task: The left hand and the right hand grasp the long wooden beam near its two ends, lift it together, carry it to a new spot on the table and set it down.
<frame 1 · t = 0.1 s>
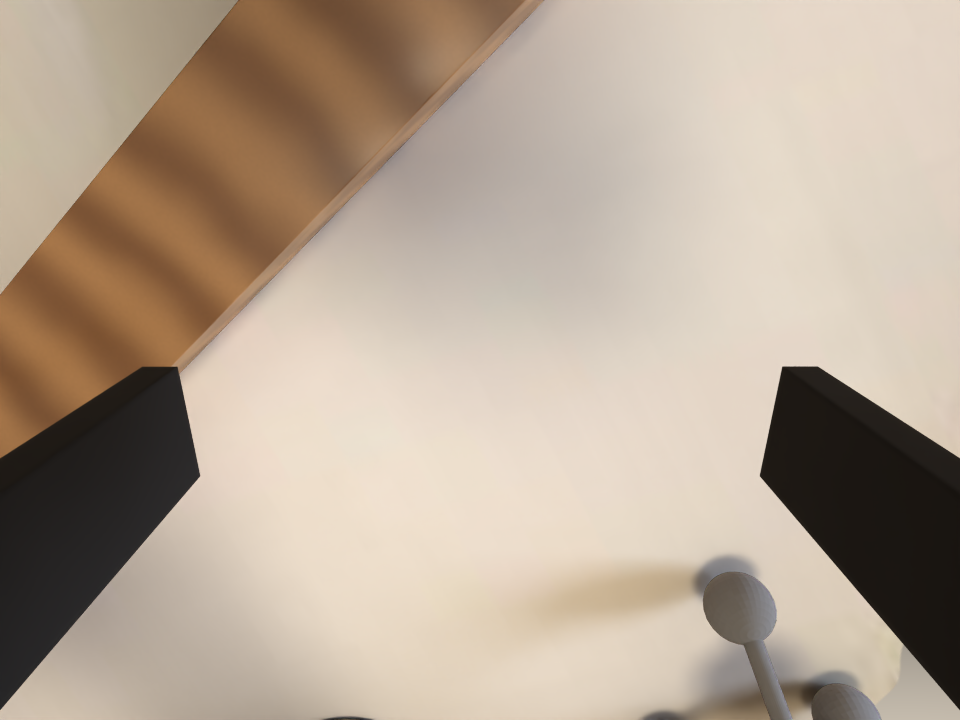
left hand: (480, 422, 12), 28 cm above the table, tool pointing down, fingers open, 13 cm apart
molecular model: (719, 678, 53), on the table
long wooden beam: (256, 185, 37), on the table
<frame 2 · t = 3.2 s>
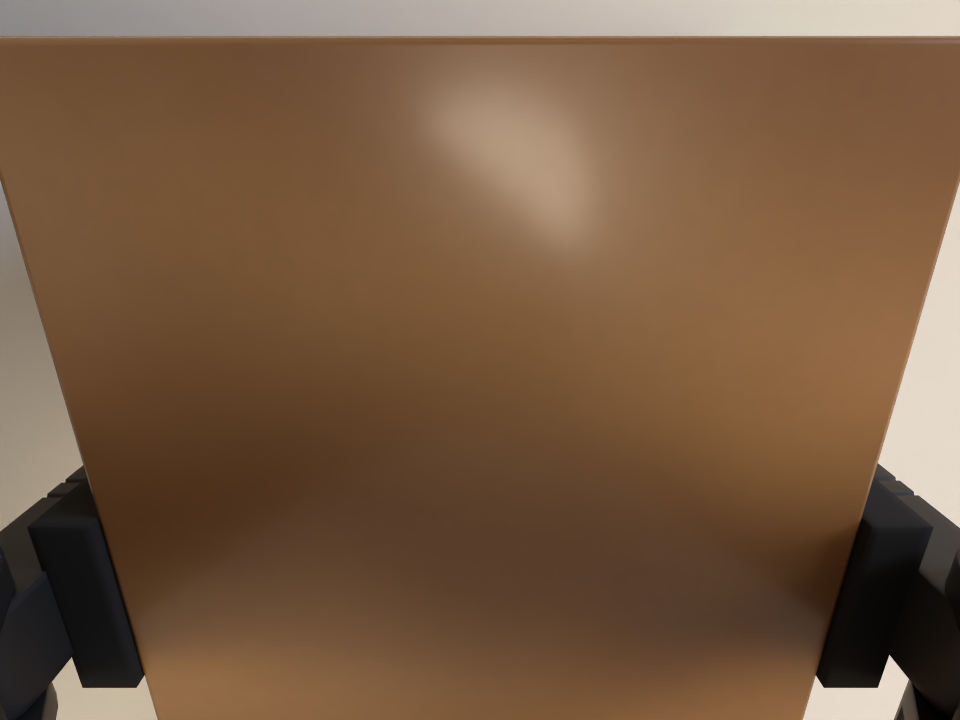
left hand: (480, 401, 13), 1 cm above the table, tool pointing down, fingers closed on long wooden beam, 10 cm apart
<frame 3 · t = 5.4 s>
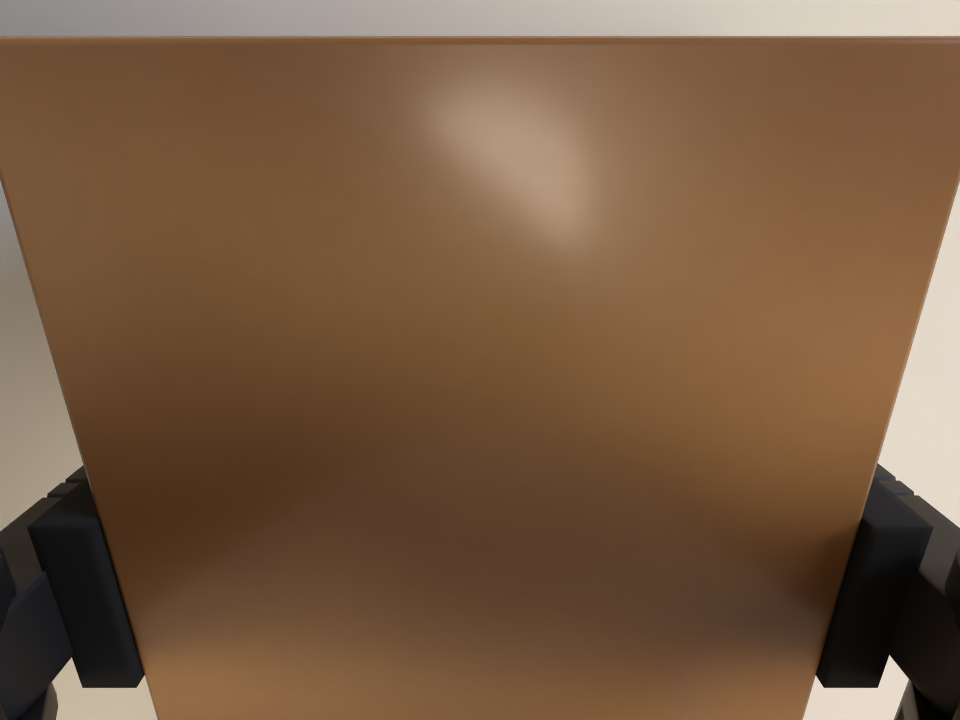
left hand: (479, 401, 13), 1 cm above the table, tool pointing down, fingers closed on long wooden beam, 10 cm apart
when the left hand's fingers open (2 cm above the table, at t = 15.8 s): long wooden beam drops 1 cm, on the table.
when the right hand's fingers open (2 cm above the table, at t = 15.8 s): long wooden beam drops 1 cm, on the table.
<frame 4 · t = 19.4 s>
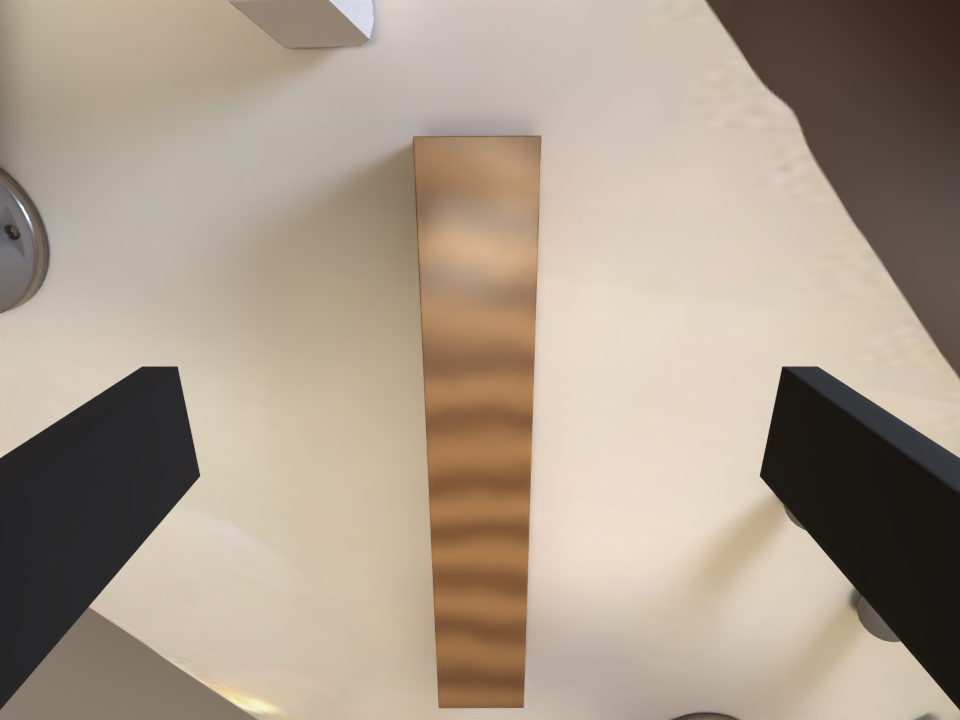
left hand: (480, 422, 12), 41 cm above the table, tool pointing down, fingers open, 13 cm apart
molecular model: (873, 538, 63), on the table
long wooden beam: (479, 444, 59), on the table
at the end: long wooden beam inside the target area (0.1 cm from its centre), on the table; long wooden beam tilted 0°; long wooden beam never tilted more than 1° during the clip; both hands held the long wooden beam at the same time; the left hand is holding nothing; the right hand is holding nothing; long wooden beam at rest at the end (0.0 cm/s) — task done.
